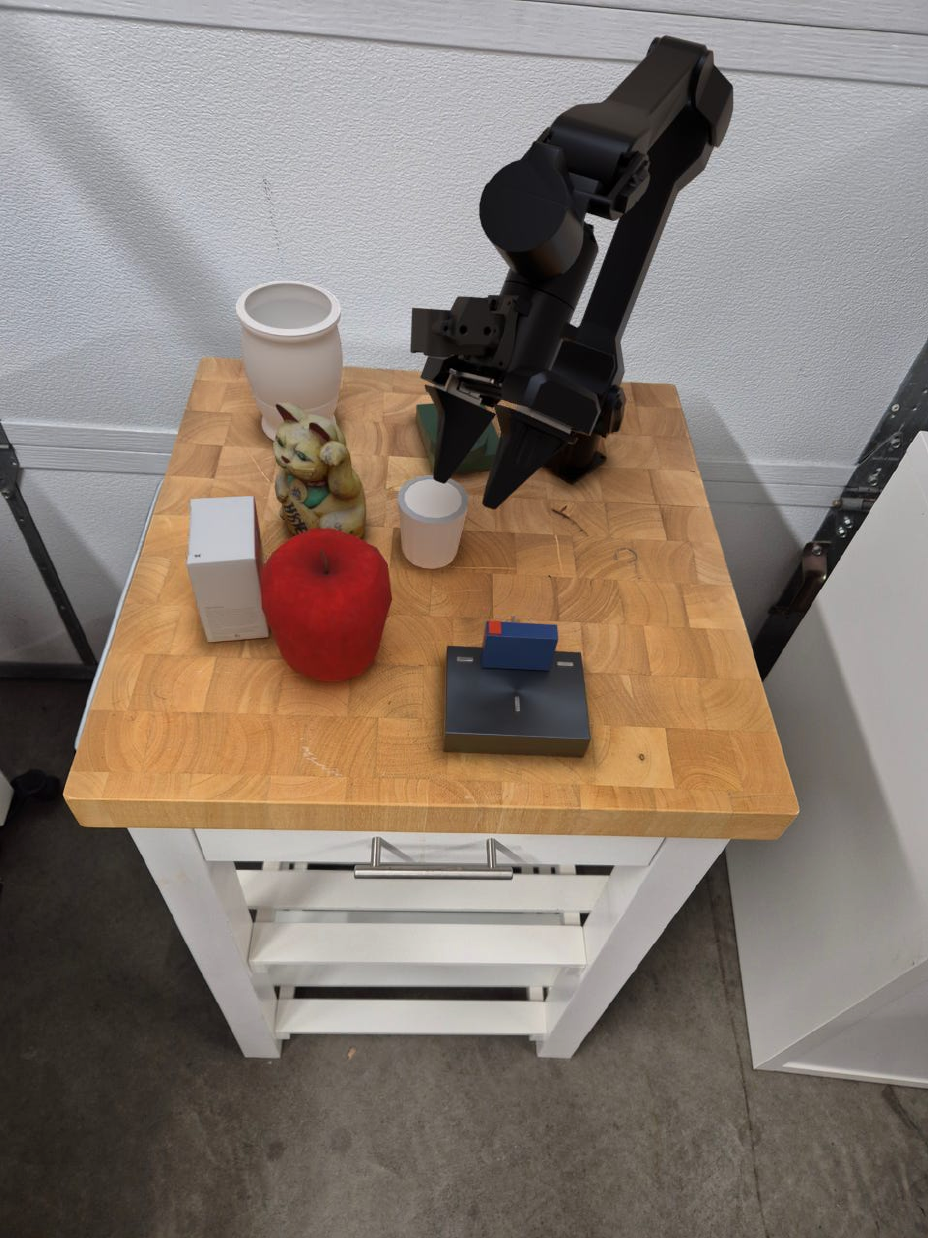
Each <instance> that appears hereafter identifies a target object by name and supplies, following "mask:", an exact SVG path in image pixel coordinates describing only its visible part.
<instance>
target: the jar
mask: <svg viewBox="0 0 928 1238" xmlns="http://www.w3.org/2000/svg"><path fill="white" fill-rule="evenodd" d="M341 311H342V306H341V304H340V301H339V300H338V298H337V297H336V296H335V295H334V294H333V293H332V292H331V291H329V290H328V289H326V288H324V287H321V286H320V285H316V284H313V283H310V282H305V281H299V280H274V281H269V282H264V283H260V284H256V285H255V286H253V287H250V288H248V289H246V290H245V291H244V292H243V293H242V294H241V295H240V296H239V297H238V299H237V301H236V304H235V315H236V318H237V321H238V322H239V324H240V325H241V337H240V339H241V340H240V345H241V347H240V348H241V356H242V365H243V369H244V373H245V376H246V379H247V382H248V385H249V387H250V390H251V394H252V397H253V401H254V403H255V405H256V407H257V409H258V411H259V413H260V415H262V418H261V429H262V431H263V433H264V434H265V435H266V437H268V439H269V440H272V441H273V442H274V441H275V436H276V433H277V431H278V429H279V427H280V426H281V424H282V423H283V422H284V420H283V418H282V416H281V415H280V413H279V412H278V410H277V408H276V404H278V403H281V402H284V403H291V404H294V405H297V406H298V407H300V408H301V409H302V410H303V411H304V412H305V413H307V414H313V415H319V416H322V417H325V418H327V419H329V420H331V421H332V422H334V423H335V424H336V425H337V418H336V417H335V414H334V413H335V411H336V409H337V406H338V403H339V398H340V391H341V384H342V378H343V369H344V355H343V354H344V353H343V344H342V338H341V334H340V330H339V326H338V325H339V323H340V320H341V316H342V314H341Z"/></svg>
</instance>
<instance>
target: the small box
mask: <svg viewBox="0 0 928 1238" xmlns="http://www.w3.org/2000/svg"><path fill="white" fill-rule="evenodd" d="M188 525H189V526H188V541H187V542H188V543H187V554H186V562H185V565H186V569H187V572H188V576H189V580H190V584H191V587H192V591H193V595H194V599H195V603H196V607H197V610H198V613H199V617H200V621H201V624H202V629H203V631H204V634H205V638H206V641H207V643H219V642H230V641H241V640H252V639H263V638H269V637H270V629H269V628H270V626H269V624H268V622H267V619H266V617H265V615H264V613H263V610H262V604H261V578H260V570H261V569H262V567H263V566H264V564H265V563H266V561H265V555H264V549H263V543H262V537H261V529H260V522H259V516H258V509H257V504H256V497H255V496H254V495H247V496H246V495H245V496H244V495H243V496H224V497H222V496H221V497H204V498H202V497H201V498H191V499H190V500H189V524H188Z"/></svg>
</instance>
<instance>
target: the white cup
mask: <svg viewBox="0 0 928 1238" xmlns="http://www.w3.org/2000/svg"><path fill="white" fill-rule="evenodd" d="M397 507H398V508H397V509H398V518H399V519H398V520H399V529H400V530H399V531H400V539H401V540H400V541H401V551H402V553H403V555H404V557H405V559H406V560H407V561H408V562H410V563H411V564H412V565H414V566H416V567H419V568H422V569H433V570H435V569H440V568H443V567H446V566H447V565H449V564H450V563H451V562H453V561H454V560H455V558H456V556H457V555H458V550H459V546H460V542H461V538H462V533H463V529H464V525H465V520H466V517H467V514H468V510H469V509H468V508H469V495H468V492H467V491H466V489H465V487H464V486H462V485H461V484H460V483H458V482H457V481H456V480H454V479H452V478H450V479H449V480H448V481H447V482H446V483H445V484H443V483H440V482H437V481H435V480H434V479H433V474H424V475H420V476H415V477H413V478H411V479H409V480H407V481H405V482H404V483H403V484H402V485H401V487H400V488H399V490H398V492H397Z"/></svg>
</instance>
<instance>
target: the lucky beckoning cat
mask: <svg viewBox="0 0 928 1238" xmlns="http://www.w3.org/2000/svg"><path fill="white" fill-rule="evenodd" d="M276 408H277V410H278V412H279V413H280V415H281V416H282V418H283V420H284V422H283V423H282V424H281V426H280V427H279V429H278V431H277V433H276V436H275V441H273V442H272V447H273V454H274V460H275V462H276V464H277V465H278V467H280V468H279V469H278V471H277V474H276V477H275V480H274V491H275V496H276V499H277V501H278V502H279V503H280V504H281V507H280V509H279V511H278V516H279V517H280V518H281V520H282V521H284V522H285V524H286V526H287V528H288V530H289V531H290V532H291V533H292V534H293V535H294V536H295V535H298V534H300V533H303V532H305V531H308V530H310V529H313V528H318V529H335V530H339V531H342V532H345V533H348V534H352V535H354V536H355V537H357V538H359V539H362V537H363V535H364V533H365V529H366V523H367V501H366V494H365V490H364V486H363V483H362V480H361V477H360V476H359V474H357V472H356V471H355V469H354V468H353V466H352V464H353V463H352V458H351V453H350V451H349V448H348V446H347V439H346V436H345V433H344V432H343V431H342V429H341V428H340V427H339V425H337V423H336V424H335V423H334V422H332V421H331V420H329V419H327V418H325V417H322V416H319V415H313V414H307V413H305V412H304V411H303V410H302V409H301V408H300V407H298V406H297V405H294V404H291V403H284V402H281V403H278V404H276Z"/></svg>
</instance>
